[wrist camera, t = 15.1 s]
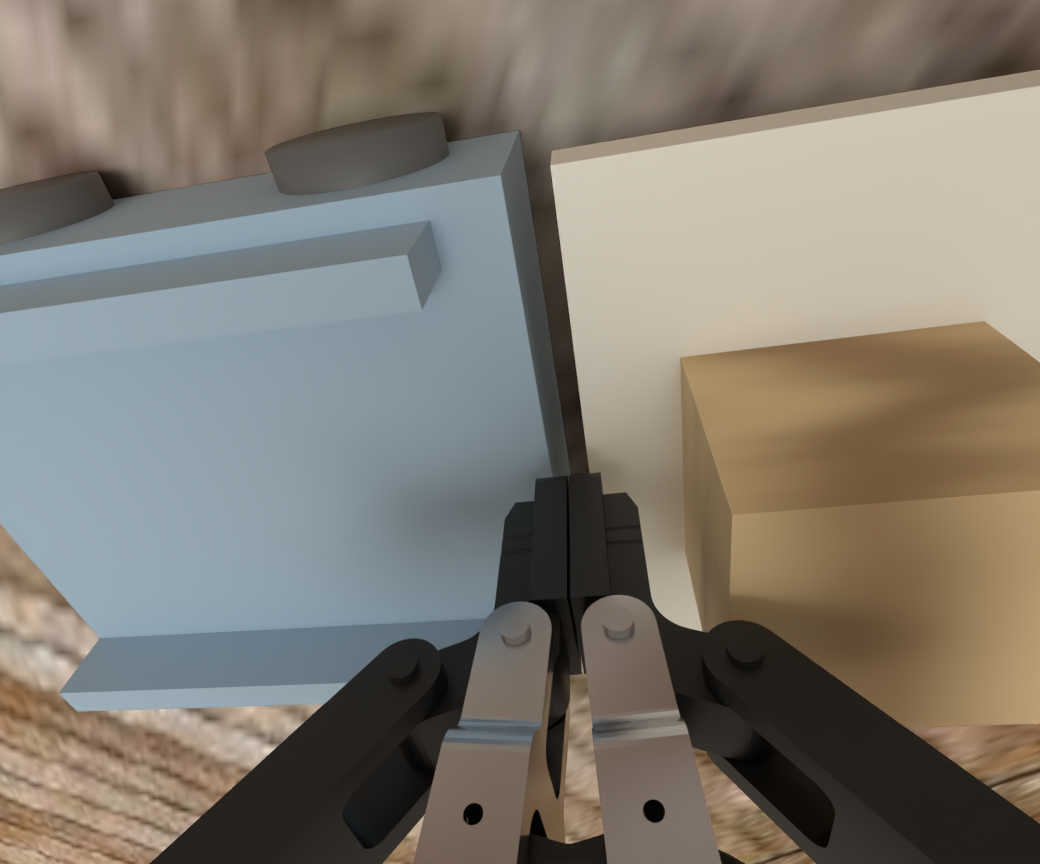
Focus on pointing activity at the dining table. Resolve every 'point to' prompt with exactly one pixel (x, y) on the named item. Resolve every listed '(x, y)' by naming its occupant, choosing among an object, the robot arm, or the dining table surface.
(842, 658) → the wooden block
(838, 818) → the robot arm
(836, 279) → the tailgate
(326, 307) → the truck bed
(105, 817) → the dining table surface
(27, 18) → the dining table surface
